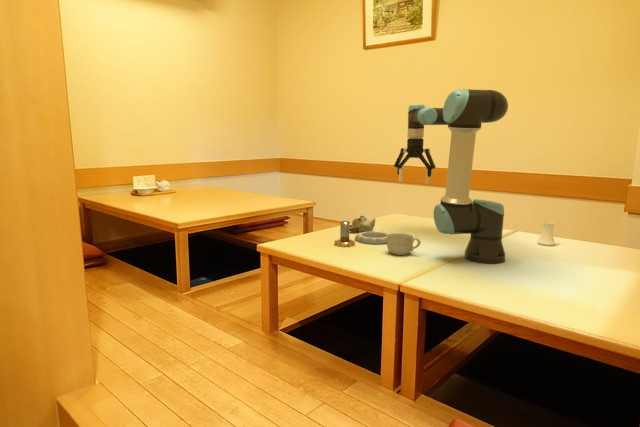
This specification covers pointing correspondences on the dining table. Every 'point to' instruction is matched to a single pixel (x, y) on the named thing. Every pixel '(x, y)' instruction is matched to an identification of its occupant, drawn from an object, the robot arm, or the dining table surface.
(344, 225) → the sun gear
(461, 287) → the dining table surface
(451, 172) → the robot arm
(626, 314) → the dining table surface
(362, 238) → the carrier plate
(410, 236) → the teacup
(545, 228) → the vase
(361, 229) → the ceramic sculpture
